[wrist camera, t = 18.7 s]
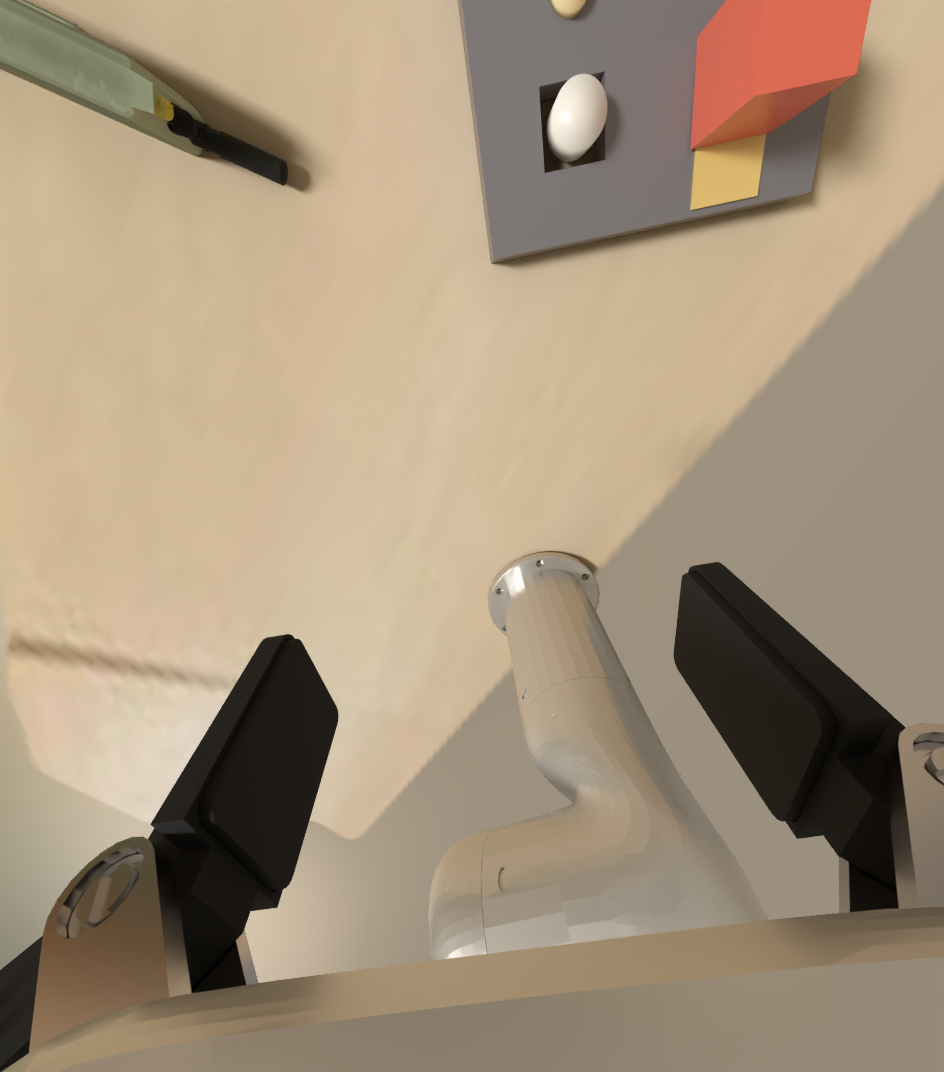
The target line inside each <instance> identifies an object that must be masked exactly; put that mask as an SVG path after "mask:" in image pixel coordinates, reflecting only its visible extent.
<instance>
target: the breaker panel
mask: <svg viewBox="0 0 944 1072" xmlns="http://www.w3.org/2000/svg"><path fill="white" fill-rule="evenodd" d="M725 1H726V0H458V5H459V13H460V21H461V29H462V37H463V45H464V52H465V60H466V68H467V76H468V84H469V92H470V100H471V108H472V116H473V124H474V132H475V139H476V147H477V155H478V163H479V171H480V179H481V187H482V195H483V203H484V211H485V218H486V226H487V234H488V242H489V250H490V258H491V263H496V262H500V261H505V260H510V259H514V258H519V257H524V256H529V255H533V254H538V253H543V252H547V251H552V250H557V249H562V248H566V247H571V246H576V245H580V244H585V243H590V242H595V241H599V240H604V239H609V238H614V237H618V236H623V235H628V234H632V233H637V232H642V231H647V230H651V229H656V228H661V227H665V226H670V225H675V224H680V223H684V222H689V221H694V220H698V219H703V218H708V217H713V216H717V215H722V214H727V213H732V212H736V211H741V210H746V209H750V208H755V207H760V206H765V205H769V204H774V203H779V202H783V201H788V200H791V199H794V198H796V197H799V196H802V195H805V194H807V193H810V192H811V190H812V184H813V179H814V174H815V169H816V164H817V158H818V153H819V148H820V143H821V138H822V133H823V127H824V122H825V117H826V112H827V107H828V101H829V96H830V93H828V94H827V95H825V96H824V97H822V98H821V99H819V100H818V101H816V102H815V103H813V104H812V105H810V106H809V107H807V108H806V109H804V110H803V111H801V112H800V113H799V114H797V115H796V116H794V117H793V118H791V119H790V120H788V121H787V122H785V123H784V124H782V125H781V126H779V127H778V128H776V129H775V130H773V131H772V132H770V133H768V134H763V135H759V136H754V137H749V138H744V139H740V140H735V141H730V142H726V143H721V144H716V145H711V146H707V147H702V148H697V149H692V150H690V148H691V132H692V116H693V100H694V84H695V68H696V52H697V37H698V36H699V34H700V33H701V32H702V31H703V29H704V28H705V27H706V25H707V24H708V23H709V22H710V20H711V19H712V18H713V16H714V15H715V14H716V13H717V11H718V10H719V9H720V8H721V6H722V5H723V4H724V2H725ZM578 74H589V75H592V76H594V77H595V78H596V79H597V80H598V81H599V82H600V83H601V85H602V86H603V88H604V91H605V94H606V98H607V116H606V121H605V124H604V127H603V129H602V131H601V133H600V135H599V136H598V138H597V139H596V140H595V161H596V162H593V163H589V164H584V165H579V166H575V167H570V168H566V169H561V170H557V171H552V172H548V173H545V171H544V156H543V140H542V125H541V109H540V102H541V101H545V100H549V99H554V98H557V96H558V94H559V92H560V90H561V88H562V87H563V85H564V84H565V83H566V82H567V81H568V80H569V79H570V78H572V77H574V76H575V75H578Z"/></svg>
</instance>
